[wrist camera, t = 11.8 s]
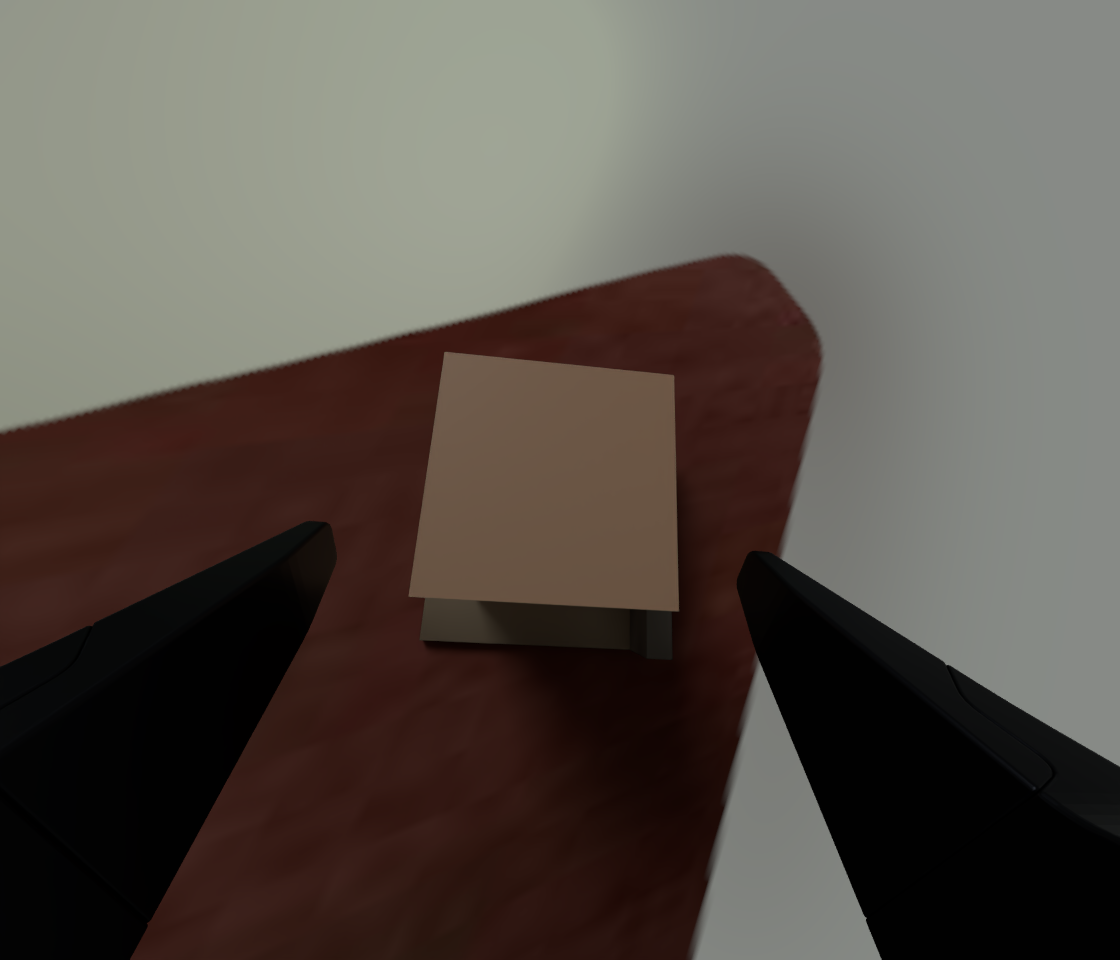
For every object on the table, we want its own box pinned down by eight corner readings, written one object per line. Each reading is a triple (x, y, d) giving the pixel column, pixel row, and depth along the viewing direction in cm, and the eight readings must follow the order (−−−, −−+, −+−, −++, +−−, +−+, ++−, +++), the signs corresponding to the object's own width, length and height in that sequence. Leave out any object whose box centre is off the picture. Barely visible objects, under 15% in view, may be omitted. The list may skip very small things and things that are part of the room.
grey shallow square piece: (649, 649, 18) (672, 659, 16) (421, 639, 18) (403, 647, 15) (648, 440, 21) (667, 417, 18) (450, 423, 20) (439, 396, 18)
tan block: (586, 599, 18) (678, 611, 8) (473, 593, 18) (408, 597, 7) (590, 491, 20) (674, 375, 9) (485, 483, 19) (444, 351, 9)
